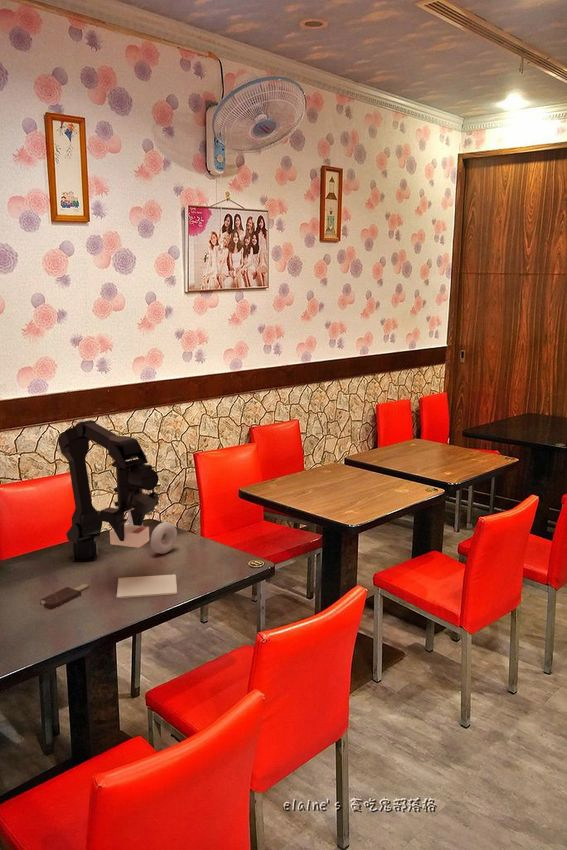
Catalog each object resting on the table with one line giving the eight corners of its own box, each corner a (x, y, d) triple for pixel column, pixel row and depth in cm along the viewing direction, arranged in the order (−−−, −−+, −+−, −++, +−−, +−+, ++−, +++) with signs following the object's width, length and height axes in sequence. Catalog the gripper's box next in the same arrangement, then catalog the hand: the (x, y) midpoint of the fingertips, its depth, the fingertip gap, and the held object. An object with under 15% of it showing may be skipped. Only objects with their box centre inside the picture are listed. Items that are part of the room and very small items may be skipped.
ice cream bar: (80, 585, 198) (37, 606, 185) (80, 580, 198) (37, 600, 185) (94, 589, 195) (52, 611, 183) (94, 584, 195) (51, 605, 182)
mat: (116, 598, 190) (116, 596, 189) (118, 579, 201) (118, 577, 201) (177, 594, 192) (177, 592, 192) (175, 576, 204) (175, 574, 204)
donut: (156, 559, 216) (155, 528, 214) (148, 556, 218) (147, 525, 216) (179, 549, 224) (179, 519, 222) (172, 547, 226) (171, 517, 224)
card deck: (110, 544, 198) (109, 530, 197) (121, 537, 204) (120, 523, 203) (139, 547, 196) (138, 533, 195) (149, 540, 201) (148, 526, 200)
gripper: (127, 496, 185) (130, 553, 188) (171, 479, 201) (173, 531, 204) (95, 490, 190) (98, 546, 193) (140, 474, 206) (142, 525, 209)
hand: (129, 537), depth 199 cm, fingers closed on card deck, 6 cm apart
